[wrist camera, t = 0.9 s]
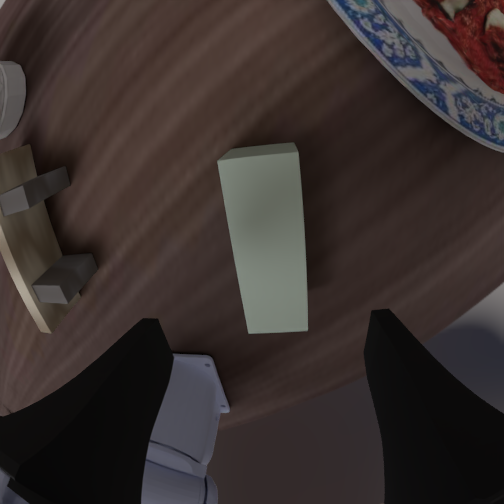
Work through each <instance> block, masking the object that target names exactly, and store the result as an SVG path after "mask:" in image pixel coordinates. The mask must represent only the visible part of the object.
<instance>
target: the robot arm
mask: <svg viewBox="0 0 504 504" xmlns="http://www.w3.org/2000/svg"><path fill="white" fill-rule="evenodd" d="M364 359H365V366H366V373H367V379H368V383H369V387H370V391H371V395H372V399H373V403H374V407H375V411H376V415H377V419H378V424H379V428H380V433H381V438H382V446H383V457H384V476H385V501H384V504H504V414H503V413H502V412H500V411H498V410H497V409H495V408H494V407H493V406H491V405H490V404H488V403H486V402H485V401H484V400H482V399H481V398H480V397H478V396H477V395H476V394H474V393H473V392H472V391H471V390H469V389H468V388H467V387H466V386H465V385H463V384H462V383H461V382H460V381H459V380H457V379H456V378H455V377H454V376H453V375H452V374H451V373H450V372H448V370H446V369H445V368H444V367H443V366H442V365H441V364H440V363H439V362H438V361H437V360H436V359H435V358H434V357H433V356H432V355H431V354H430V353H429V352H428V350H427V349H426V348H425V347H424V346H423V345H422V344H421V343H420V342H419V341H418V340H417V339H416V338H415V337H414V336H413V334H412V333H411V332H410V331H409V330H408V329H407V328H406V327H405V326H404V325H403V323H402V322H401V321H400V320H399V319H398V318H397V317H396V316H395V315H394V314H393V313H392V311H391V310H390V309H381V310H372V311H371V317H370V322H369V328H368V333H367V338H366V343H365V348H364ZM229 411H230V407H229V404H228V401H227V399H226V396H225V393H224V390H223V388H222V385H221V382H220V379H219V376H218V373H217V370H216V367H215V364H214V361H213V359H212V357H210V356H208V355H192V354H173V353H172V351H171V349H170V347H169V344H168V342H167V340H166V337H165V335H164V333H163V330H162V328H161V325H160V323H159V320H158V319H151V318H143V319H142V320H140V321H139V322H138V323H137V324H136V325H134V326H133V327H132V328H131V329H130V330H129V331H128V332H127V333H125V334H124V335H123V336H122V337H121V338H120V339H119V340H118V341H117V342H116V343H114V344H113V345H112V346H111V347H110V348H109V349H108V350H107V351H106V352H105V353H103V354H102V355H101V356H100V357H99V358H98V359H97V360H95V361H94V362H93V363H92V364H91V365H89V366H88V367H87V368H86V369H85V370H83V371H82V372H81V373H80V374H79V375H77V376H76V377H75V378H73V379H72V380H71V381H69V382H68V383H66V384H65V385H64V386H62V387H61V388H59V389H58V390H56V391H55V392H53V393H51V394H50V395H48V396H46V397H44V398H43V399H41V400H39V401H38V402H36V403H34V404H32V405H30V406H28V407H26V408H24V409H21V410H19V411H17V412H15V413H12V414H10V415H7V416H4V417H1V418H0V504H217V502H218V492H217V487H216V485H215V483H214V481H213V479H212V478H211V477H210V476H209V475H206V470H207V466H206V465H207V463H208V462H209V461H210V459H211V457H212V454H213V449H214V444H215V438H216V433H217V428H218V423H219V418H220V412H223V413H228V412H229Z"/></svg>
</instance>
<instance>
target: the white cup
mask: <svg viewBox="0 0 504 504" xmlns="http://www.w3.org/2000/svg"><path fill="white" fill-rule="evenodd" d="M25 98H26V78H25V75H24V72H23V70H22V68H21V66H20V65H19V64H17V63H15V62H13V61H0V139H2V138H5V137H7V136H8V135H9V134H10V133H11V132H12V131H13V130H14V129H15V128H16V127H17V124H18V122H19V120H20V117H21V115H22V113H23V108H24V103H25Z"/></svg>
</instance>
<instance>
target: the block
mask: <svg viewBox="0 0 504 504" xmlns="http://www.w3.org/2000/svg"><path fill="white" fill-rule="evenodd" d="M217 162H218V168H219V174H220V180H221V186H222V192H223V198H224V203H225V209H226V215H227V221H228V226H229V232H230V237H231V243H232V249H233V254H234V260H235V265H236V270H237V276H238V281H239V287H240V292H241V297H242V302H243V308H244V313H245V318H246V323H247V328H248V333H249V334H253V333H279V332H297V331H308V305H307V273H306V250H305V231H304V215H303V201H302V188H301V176H300V164H299V154H298V150H297V148H296V146H295V143H294V142H293V143H281V144H270V145H260V146H251V147H243V148H235V149H231V150H229V151H228V152H227V153H226V154H225V155H224V156H222V157H221V158H220V159H219V160H218V161H217Z"/></svg>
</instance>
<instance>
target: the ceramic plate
mask: <svg viewBox="0 0 504 504" xmlns="http://www.w3.org/2000/svg"><path fill="white" fill-rule="evenodd" d="M327 1H328V3H329V4H330V5H331V7H332V8H333V10H334V11H335V12H336V13H337V14H338V15H339V17H340V18H341V19H342V20H343V21H344V22H345V24H346V25H347V26H348V27H349V29H350V30H351V31H352V32H353V34H354V35H355V36H356V37H357V39H358V40H359V41H360V42H361V43H362V44H363V45H364V46H365V47H366V48H367V49H368V50H369V51H370V52H371V53H372V54H373V55H374V56H375V57H376V58H377V60H378V61H379V62H380V63H381V64H382V65H383V66H384V67H385V68H386V69H387V70H388V71H389V72H390V73H391V74H392V75H393V76H394V77H395V78H396V79H397V80H398V81H399V82H400V83H401V84H402V85H403V86H404V87H406V88H407V89H408V90H409V91H410V92H411V93H412V94H413V95H414V96H415V97H416V98H417V99H418V100H420V101H421V102H422V103H423V104H425V105H426V106H427V107H428V108H429V109H430V110H432V111H433V112H434V113H435V114H436V115H438V116H439V117H441V118H442V119H443V120H444V121H446V122H447V123H448V124H450V125H451V126H452V127H454V128H456V129H457V130H459V131H460V132H462V133H463V134H465V135H466V136H468V137H470V138H472V139H473V140H475V141H477V142H479V143H480V144H482V145H484V146H487V147H489V148H491V149H494V150H496V151H500V152H504V0H327Z"/></svg>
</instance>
